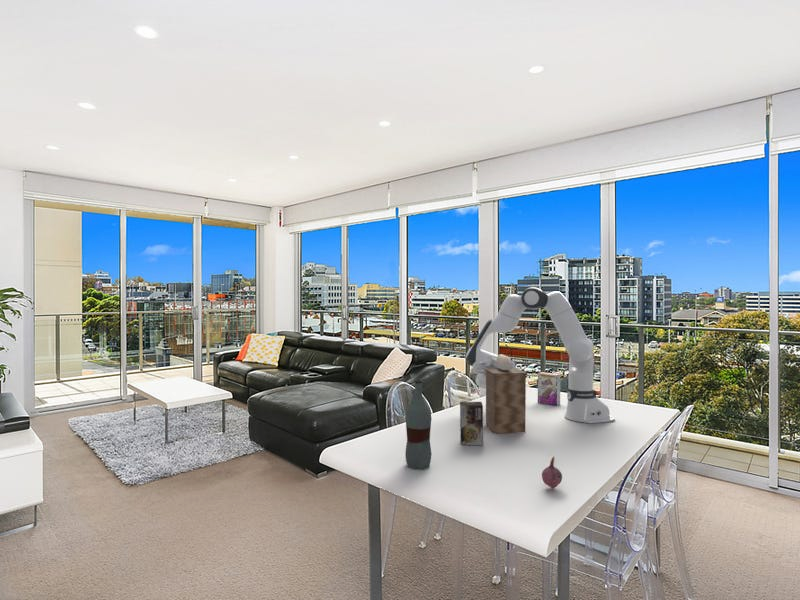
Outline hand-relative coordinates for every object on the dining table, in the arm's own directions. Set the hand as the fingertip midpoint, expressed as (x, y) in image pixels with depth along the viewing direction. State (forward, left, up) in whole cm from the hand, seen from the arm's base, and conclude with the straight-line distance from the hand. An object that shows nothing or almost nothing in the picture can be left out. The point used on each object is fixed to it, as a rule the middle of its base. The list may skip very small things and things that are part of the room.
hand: (498, 361), depth 218 cm
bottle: (+45, +49, -29) cm, 73 cm away
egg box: (0, +4, -2) cm, 5 cm away
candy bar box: (-40, -34, -29) cm, 60 cm away
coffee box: (+20, +27, -29) cm, 45 cm away
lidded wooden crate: (0, +10, -29) cm, 31 cm away
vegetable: (+7, +73, -29) cm, 79 cm away
